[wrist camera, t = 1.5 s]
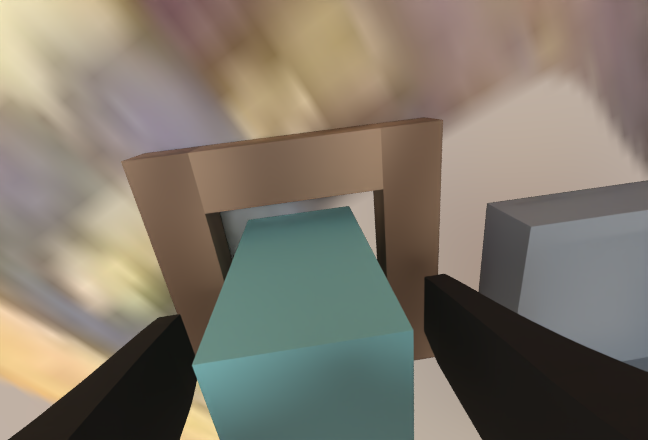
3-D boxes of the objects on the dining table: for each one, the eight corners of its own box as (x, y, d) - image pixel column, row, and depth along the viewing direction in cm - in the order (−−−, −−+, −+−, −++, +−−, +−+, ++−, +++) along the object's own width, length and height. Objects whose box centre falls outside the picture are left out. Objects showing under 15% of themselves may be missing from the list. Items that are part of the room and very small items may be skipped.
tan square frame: (423, 117, 11) (442, 119, 10) (421, 332, 15) (435, 356, 13) (144, 153, 10) (120, 161, 9) (215, 365, 14) (207, 393, 13)
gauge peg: (348, 205, 12) (413, 329, 5) (356, 290, 13) (413, 465, 7) (248, 220, 12) (192, 364, 5) (267, 303, 13) (241, 496, 7)
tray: (727, 169, 13) (822, 184, 11) (653, 355, 17) (710, 396, 15) (487, 203, 12) (531, 226, 10) (469, 386, 16) (498, 433, 14)
